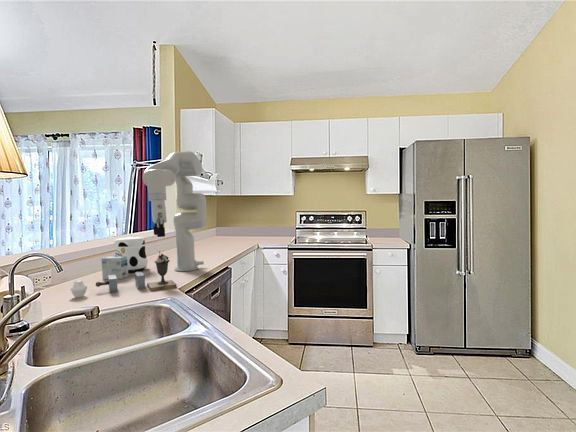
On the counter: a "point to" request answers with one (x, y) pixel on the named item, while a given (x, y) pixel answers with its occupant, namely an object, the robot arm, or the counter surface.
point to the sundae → (162, 267)
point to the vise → (113, 282)
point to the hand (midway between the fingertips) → (159, 235)
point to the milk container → (132, 252)
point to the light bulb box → (115, 266)
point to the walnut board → (154, 286)
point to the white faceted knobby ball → (78, 289)
